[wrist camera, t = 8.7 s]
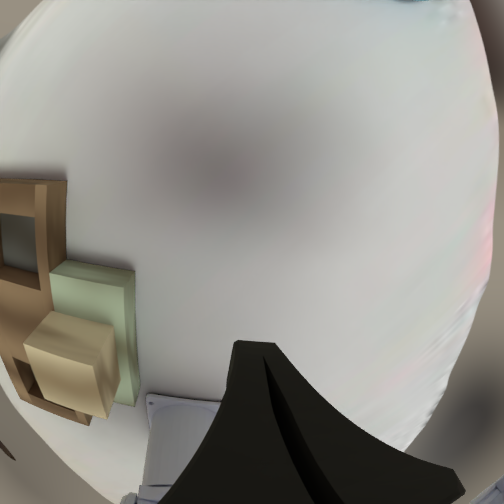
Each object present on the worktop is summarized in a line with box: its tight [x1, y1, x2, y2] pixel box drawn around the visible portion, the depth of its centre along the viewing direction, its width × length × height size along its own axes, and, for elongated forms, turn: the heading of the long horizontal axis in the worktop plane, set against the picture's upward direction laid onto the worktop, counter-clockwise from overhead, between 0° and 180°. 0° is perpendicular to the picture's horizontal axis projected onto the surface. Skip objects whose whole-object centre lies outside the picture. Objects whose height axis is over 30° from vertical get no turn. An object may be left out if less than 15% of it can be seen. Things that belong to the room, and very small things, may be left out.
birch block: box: [23, 311, 121, 419], centre depth 14 cm, size 5×5×4 cm
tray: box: [0, 178, 140, 426], centre depth 16 cm, size 22×14×2 cm, turn 170°
